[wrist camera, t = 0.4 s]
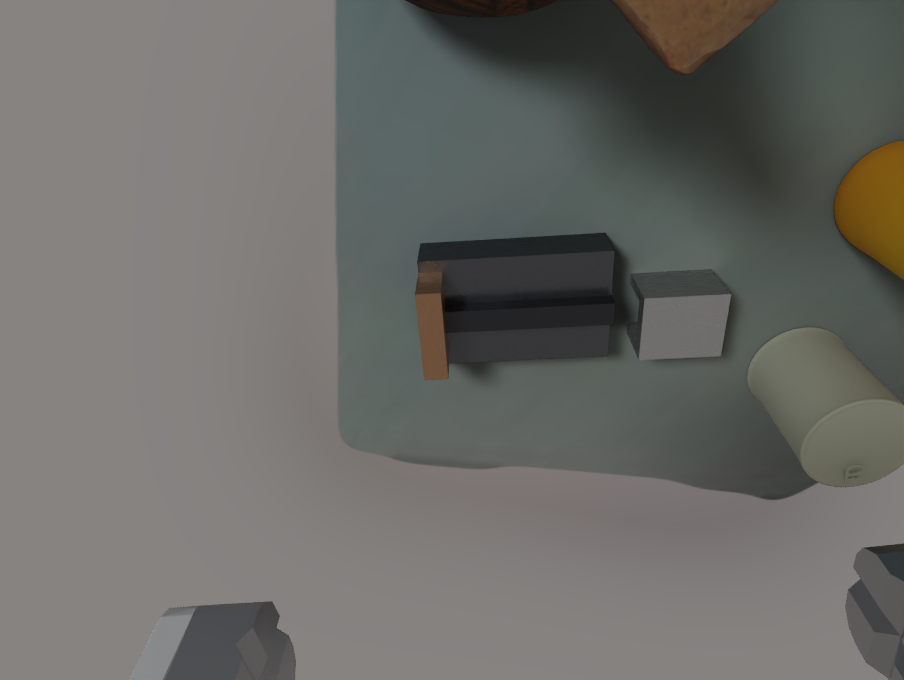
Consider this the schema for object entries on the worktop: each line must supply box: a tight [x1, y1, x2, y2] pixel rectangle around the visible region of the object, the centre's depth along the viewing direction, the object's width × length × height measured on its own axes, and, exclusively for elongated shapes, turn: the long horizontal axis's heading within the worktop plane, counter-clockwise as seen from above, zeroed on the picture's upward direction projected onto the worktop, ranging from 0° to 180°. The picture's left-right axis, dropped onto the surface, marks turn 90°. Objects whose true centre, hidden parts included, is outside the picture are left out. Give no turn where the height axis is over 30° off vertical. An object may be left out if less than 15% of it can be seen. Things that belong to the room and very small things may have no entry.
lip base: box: [415, 233, 615, 380], centre depth 54 cm, size 16×10×8 cm, turn 94°
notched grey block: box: [627, 269, 731, 360], centre depth 55 cm, size 7×6×5 cm
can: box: [747, 327, 904, 487], centre depth 56 cm, size 9×9×12 cm
